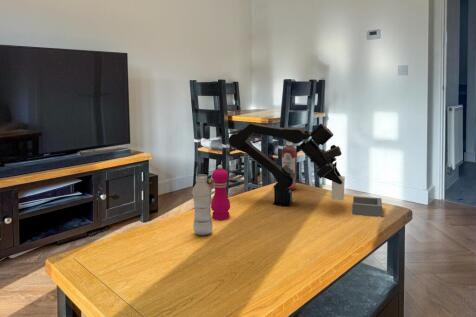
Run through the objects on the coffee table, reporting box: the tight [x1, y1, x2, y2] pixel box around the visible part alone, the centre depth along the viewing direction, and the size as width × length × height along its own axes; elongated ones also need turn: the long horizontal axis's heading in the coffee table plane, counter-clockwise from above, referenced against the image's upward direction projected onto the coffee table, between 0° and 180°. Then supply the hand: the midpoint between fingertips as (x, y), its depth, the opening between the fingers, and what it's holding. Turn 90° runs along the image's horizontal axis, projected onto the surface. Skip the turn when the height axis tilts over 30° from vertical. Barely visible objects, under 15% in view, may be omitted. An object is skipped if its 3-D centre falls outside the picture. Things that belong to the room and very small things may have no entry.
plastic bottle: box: [191, 173, 214, 236], centre depth 129 cm, size 6×7×20 cm
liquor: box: [281, 140, 298, 191], centre depth 181 cm, size 7×7×28 cm
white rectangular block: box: [330, 175, 346, 201], centre depth 154 cm, size 4×4×8 cm
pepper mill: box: [210, 164, 231, 221], centre depth 145 cm, size 7×7×20 cm
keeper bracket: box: [351, 195, 383, 217], centre depth 152 cm, size 10×11×4 cm
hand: (341, 182), depth 153 cm, fingers closed on white rectangular block, 4 cm apart
